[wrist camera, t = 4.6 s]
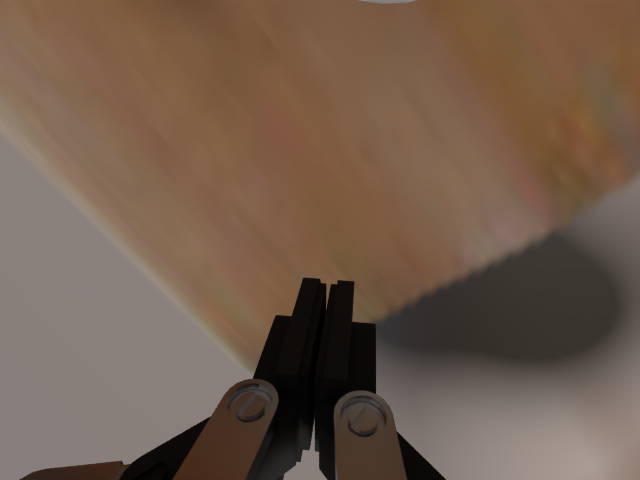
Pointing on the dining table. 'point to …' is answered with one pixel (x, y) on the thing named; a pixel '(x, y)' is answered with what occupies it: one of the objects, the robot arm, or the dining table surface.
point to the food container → (388, 1)
